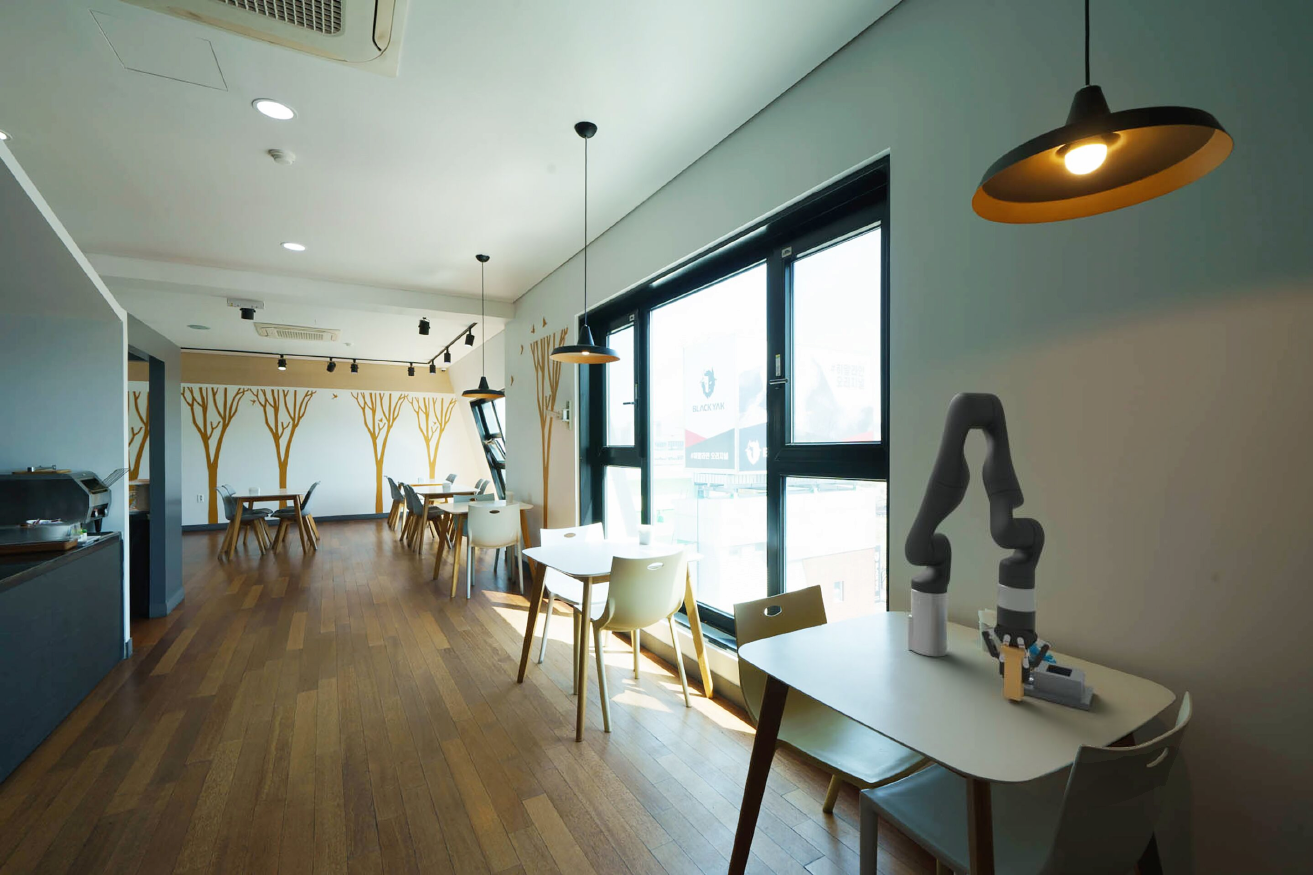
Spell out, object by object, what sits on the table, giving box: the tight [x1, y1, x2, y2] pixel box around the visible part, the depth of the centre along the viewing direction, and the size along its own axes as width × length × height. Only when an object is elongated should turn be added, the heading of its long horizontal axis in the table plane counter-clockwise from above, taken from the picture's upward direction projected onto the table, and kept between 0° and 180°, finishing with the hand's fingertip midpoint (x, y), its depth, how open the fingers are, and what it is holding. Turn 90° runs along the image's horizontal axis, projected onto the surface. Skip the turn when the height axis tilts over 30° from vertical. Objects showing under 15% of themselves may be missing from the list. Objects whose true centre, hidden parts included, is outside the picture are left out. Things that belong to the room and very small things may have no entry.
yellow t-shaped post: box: [999, 645, 1028, 702], centre depth 130 cm, size 5×6×11 cm
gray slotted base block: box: [1024, 661, 1094, 712], centre depth 134 cm, size 16×12×6 cm
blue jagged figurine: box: [1029, 642, 1058, 664], centre depth 149 cm, size 11×6×10 cm
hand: (1014, 679), depth 130 cm, fingers closed on yellow t-shaped post, 3 cm apart
